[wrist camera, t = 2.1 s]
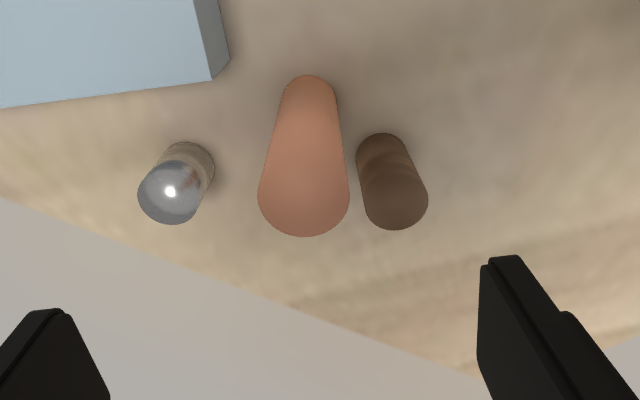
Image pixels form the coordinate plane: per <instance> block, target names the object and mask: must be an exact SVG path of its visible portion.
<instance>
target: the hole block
mask: <svg viewBox="0 0 640 400" xmlns="http://www.w3.org/2000/svg"><path fill="white" fill-rule="evenodd" d="M229 61H230V56H229V51H228V46H227V42H226V37H225V33H224V28H223V23H222V19H221V14H220V9H219V5H218V0H0V108H7V107H15V106H22V105H30V104H37V103H45V102H53V101H60V100H68V99H75V98H83V97H90V96H98V95H106V94H113V93H121V92H128V91H136V90H143V89H151V88H159V87H166V86H174V85H181V84H189V83H196V82H204V81H212V80H213V79H214V78H215V76H216V75H217V74H218V73H219V72H220V71H221V70H222V69H223V68H224V66H225V65H226V64H227V63H228V62H229Z"/></svg>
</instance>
